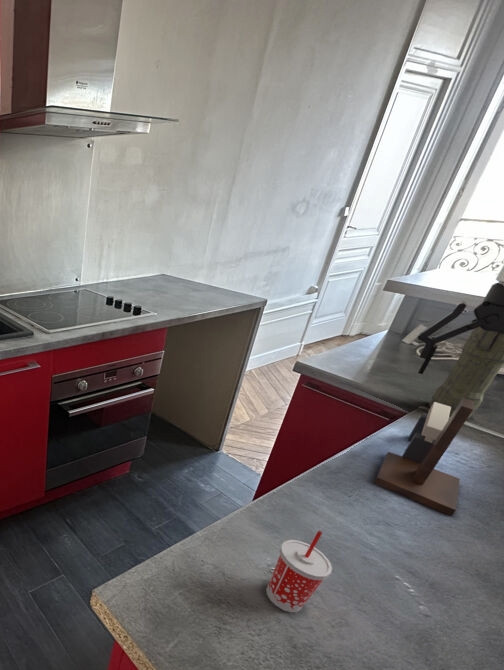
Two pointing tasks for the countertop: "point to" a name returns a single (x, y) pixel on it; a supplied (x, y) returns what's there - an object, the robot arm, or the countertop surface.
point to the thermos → (472, 370)
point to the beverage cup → (297, 574)
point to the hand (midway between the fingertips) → (462, 383)
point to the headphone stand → (427, 469)
